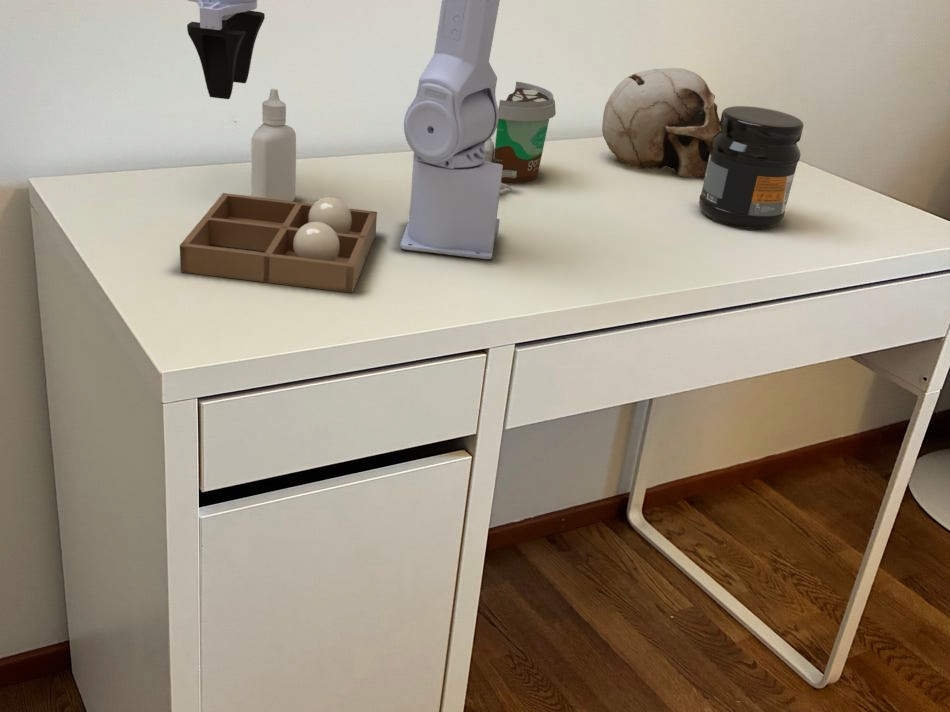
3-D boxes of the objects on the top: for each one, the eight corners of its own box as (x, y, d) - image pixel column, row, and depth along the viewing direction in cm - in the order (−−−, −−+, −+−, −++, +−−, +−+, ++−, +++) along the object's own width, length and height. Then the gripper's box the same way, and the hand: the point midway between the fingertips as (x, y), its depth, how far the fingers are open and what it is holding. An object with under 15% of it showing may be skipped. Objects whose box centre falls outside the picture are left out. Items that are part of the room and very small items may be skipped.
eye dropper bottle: (241, 198, 122) (240, 85, 115) (288, 194, 125) (289, 83, 118) (258, 211, 119) (257, 95, 113) (305, 207, 122) (308, 93, 115)
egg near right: (342, 262, 108) (344, 218, 106) (335, 278, 105) (336, 233, 102) (297, 256, 108) (298, 212, 106) (288, 272, 105) (289, 227, 102)
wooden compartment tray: (375, 235, 117) (377, 211, 115) (352, 293, 103) (353, 266, 102) (223, 217, 117) (223, 192, 115) (180, 272, 103) (179, 245, 102)
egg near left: (354, 236, 115) (356, 194, 112) (347, 250, 111) (349, 207, 109) (311, 231, 115) (312, 188, 112) (303, 245, 111) (304, 202, 109)
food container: (538, 193, 135) (550, 108, 130) (489, 184, 136) (498, 100, 131) (553, 167, 146) (564, 87, 140) (507, 159, 146) (516, 80, 141)
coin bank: (749, 170, 154) (764, 69, 146) (672, 201, 144) (683, 95, 136) (659, 144, 163) (669, 48, 155) (581, 171, 153) (587, 70, 145)
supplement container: (799, 230, 134) (827, 128, 128) (727, 233, 130) (751, 128, 124) (750, 201, 142) (774, 104, 135) (680, 203, 138) (701, 103, 131)
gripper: (205, -63, 118) (208, 70, 126) (166, -47, 106) (172, 100, 114) (270, -55, 119) (270, 78, 126) (239, -38, 106) (241, 108, 114)
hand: (228, 89), depth 120 cm, fingers open, 7 cm apart
